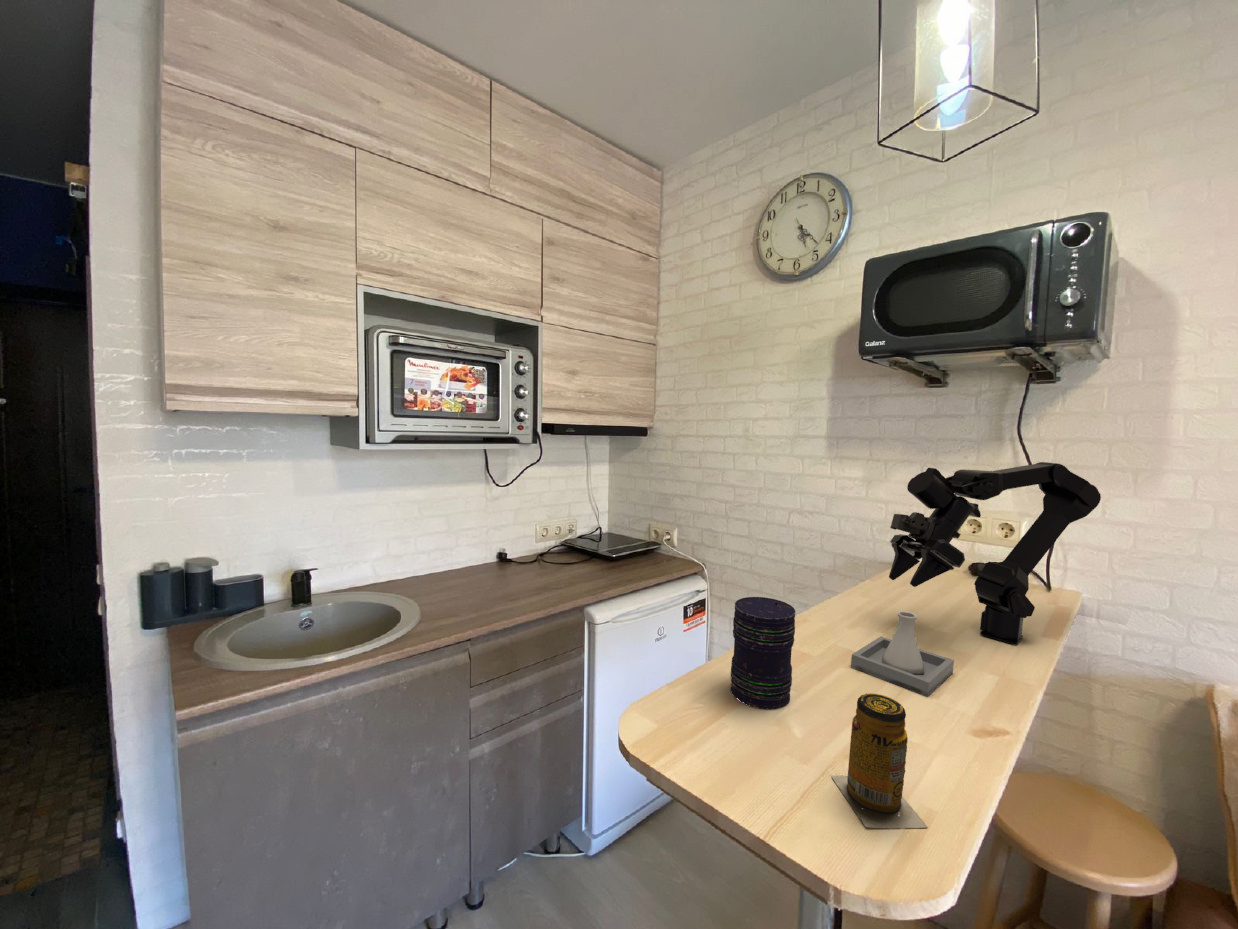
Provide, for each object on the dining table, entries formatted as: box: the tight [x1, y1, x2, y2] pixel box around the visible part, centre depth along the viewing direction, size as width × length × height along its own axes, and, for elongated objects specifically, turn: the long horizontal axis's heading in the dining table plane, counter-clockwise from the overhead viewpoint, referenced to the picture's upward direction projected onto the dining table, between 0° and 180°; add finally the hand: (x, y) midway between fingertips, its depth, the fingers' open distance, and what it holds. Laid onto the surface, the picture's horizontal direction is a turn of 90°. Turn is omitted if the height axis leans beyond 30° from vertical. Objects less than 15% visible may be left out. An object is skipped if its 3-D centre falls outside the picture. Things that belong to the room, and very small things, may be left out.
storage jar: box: [730, 596, 796, 711], centre depth 85 cm, size 10×10×15 cm
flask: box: [882, 610, 924, 674], centre depth 95 cm, size 7×7×10 cm
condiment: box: [831, 692, 928, 830], centre depth 62 cm, size 7×8×12 cm
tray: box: [850, 636, 955, 698], centre depth 95 cm, size 13×13×2 cm
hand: (901, 582), depth 107 cm, fingers open, 9 cm apart
